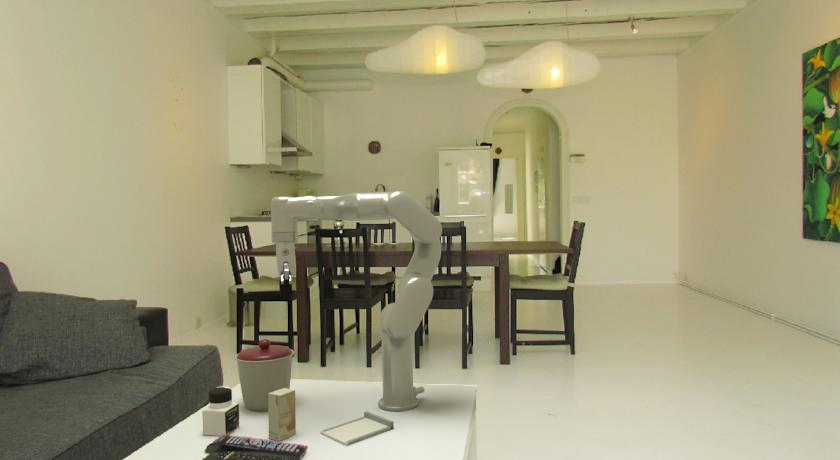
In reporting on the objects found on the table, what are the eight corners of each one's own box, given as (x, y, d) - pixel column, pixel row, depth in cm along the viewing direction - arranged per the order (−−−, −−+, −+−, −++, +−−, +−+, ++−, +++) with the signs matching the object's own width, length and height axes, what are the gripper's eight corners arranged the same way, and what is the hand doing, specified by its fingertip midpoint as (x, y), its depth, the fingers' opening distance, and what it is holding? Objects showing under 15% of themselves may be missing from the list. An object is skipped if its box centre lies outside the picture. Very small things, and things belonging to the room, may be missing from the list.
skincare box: (279, 442, 147) (278, 395, 147) (268, 438, 149) (266, 393, 149) (297, 433, 152) (295, 389, 152) (285, 430, 155) (284, 386, 154)
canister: (266, 419, 164) (264, 348, 163) (223, 410, 172) (221, 342, 172) (307, 401, 179) (305, 336, 179) (266, 393, 188) (264, 331, 188)
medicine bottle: (226, 436, 151) (224, 392, 151) (202, 435, 153) (201, 391, 153) (239, 427, 158) (238, 385, 158) (217, 425, 160) (215, 384, 160)
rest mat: (366, 418, 163) (366, 411, 163) (393, 428, 154) (393, 421, 154) (320, 433, 152) (320, 426, 152) (346, 446, 143) (346, 438, 143)
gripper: (299, 238, 159) (300, 299, 159) (295, 237, 175) (296, 291, 176) (272, 239, 157) (273, 300, 157) (271, 237, 173) (272, 292, 173)
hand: (285, 295), depth 166 cm, fingers open, 9 cm apart
